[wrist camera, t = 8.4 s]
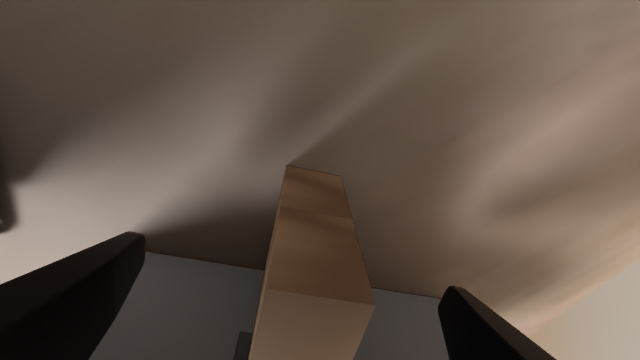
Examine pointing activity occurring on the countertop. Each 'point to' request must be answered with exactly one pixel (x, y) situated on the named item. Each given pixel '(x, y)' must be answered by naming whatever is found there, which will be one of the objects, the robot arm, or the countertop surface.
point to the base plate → (244, 317)
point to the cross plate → (312, 275)
